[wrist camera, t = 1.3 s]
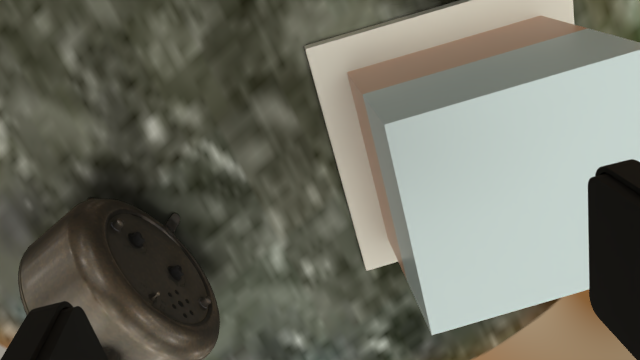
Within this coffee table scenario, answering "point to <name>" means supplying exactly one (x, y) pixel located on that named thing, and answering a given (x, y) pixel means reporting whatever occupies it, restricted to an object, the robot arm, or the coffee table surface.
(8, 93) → the coffee table surface
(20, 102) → the coffee table surface
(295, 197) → the coffee table surface
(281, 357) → the coffee table surface
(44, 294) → the alarm clock
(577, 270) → the brick tower
